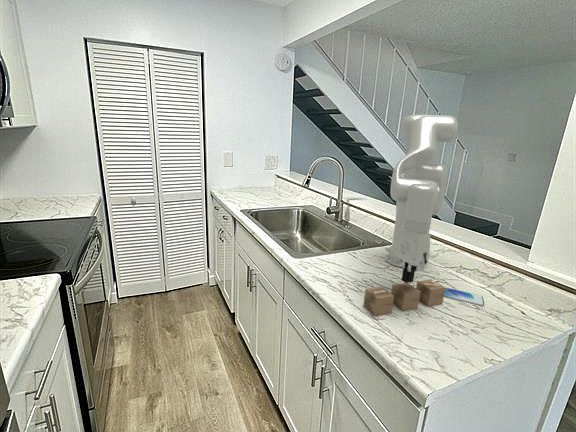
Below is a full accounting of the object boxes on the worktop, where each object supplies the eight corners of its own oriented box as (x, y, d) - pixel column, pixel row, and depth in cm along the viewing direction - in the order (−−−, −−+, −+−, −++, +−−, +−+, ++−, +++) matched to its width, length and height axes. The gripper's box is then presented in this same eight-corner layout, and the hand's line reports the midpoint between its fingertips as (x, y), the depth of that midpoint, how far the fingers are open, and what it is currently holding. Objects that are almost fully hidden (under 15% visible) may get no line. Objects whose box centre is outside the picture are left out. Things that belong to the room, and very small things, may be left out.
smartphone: (484, 305, 102) (434, 293, 108) (484, 308, 102) (433, 295, 109) (483, 295, 108) (435, 284, 115) (482, 298, 108) (435, 286, 115)
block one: (363, 306, 99) (365, 288, 97) (379, 303, 101) (381, 286, 99) (374, 316, 93) (377, 297, 92) (391, 313, 96) (394, 295, 94)
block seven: (414, 297, 106) (417, 280, 104) (428, 295, 108) (431, 278, 106) (427, 307, 100) (431, 289, 99) (442, 304, 102) (445, 286, 101)
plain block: (389, 301, 102) (392, 284, 101) (404, 299, 104) (407, 282, 103) (402, 311, 97) (405, 294, 95) (417, 308, 99) (420, 291, 97)
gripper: (389, 219, 99) (382, 272, 104) (424, 234, 86) (414, 294, 91) (409, 217, 102) (401, 269, 107) (445, 232, 89) (434, 291, 94)
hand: (407, 281), depth 99 cm, fingers closed
